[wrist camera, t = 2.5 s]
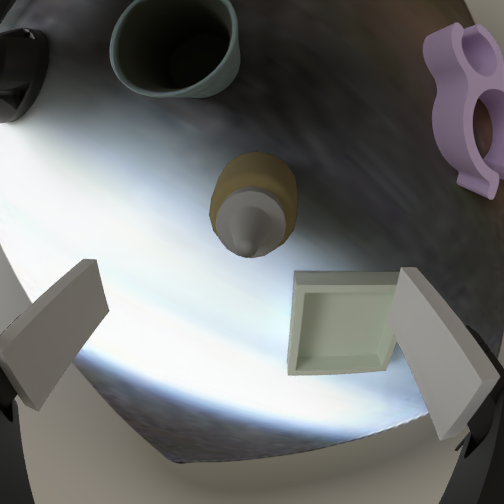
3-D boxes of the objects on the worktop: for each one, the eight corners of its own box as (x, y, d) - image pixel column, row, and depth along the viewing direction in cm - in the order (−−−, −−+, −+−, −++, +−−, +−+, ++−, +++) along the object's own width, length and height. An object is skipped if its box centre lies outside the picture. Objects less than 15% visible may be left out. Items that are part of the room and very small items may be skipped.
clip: (400, 37, 24) (427, 22, 17) (470, 35, 21) (500, 26, 15) (444, 191, 31) (474, 206, 25) (504, 171, 29) (535, 182, 22)
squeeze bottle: (309, 185, 32) (351, 247, 15) (259, 233, 35) (249, 332, 18) (257, 133, 30) (243, 138, 13) (207, 185, 33) (146, 247, 16)
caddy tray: (286, 358, 42) (287, 375, 39) (294, 270, 36) (296, 284, 33) (379, 355, 41) (385, 370, 38) (404, 271, 35) (414, 284, 32)
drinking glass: (208, 10, 24) (179, -38, 13) (269, 65, 27) (269, 30, 16) (143, 69, 27) (87, 49, 16) (199, 125, 30) (161, 124, 19)
